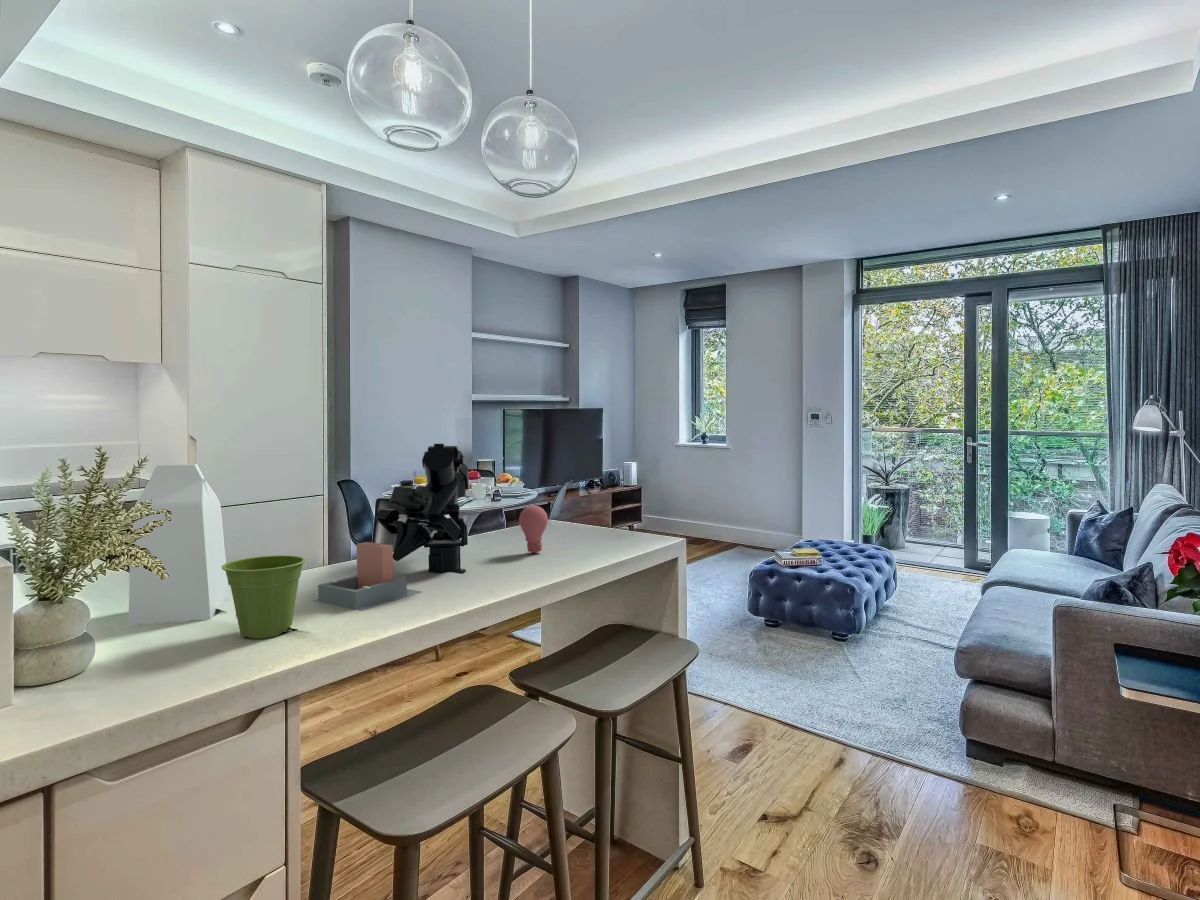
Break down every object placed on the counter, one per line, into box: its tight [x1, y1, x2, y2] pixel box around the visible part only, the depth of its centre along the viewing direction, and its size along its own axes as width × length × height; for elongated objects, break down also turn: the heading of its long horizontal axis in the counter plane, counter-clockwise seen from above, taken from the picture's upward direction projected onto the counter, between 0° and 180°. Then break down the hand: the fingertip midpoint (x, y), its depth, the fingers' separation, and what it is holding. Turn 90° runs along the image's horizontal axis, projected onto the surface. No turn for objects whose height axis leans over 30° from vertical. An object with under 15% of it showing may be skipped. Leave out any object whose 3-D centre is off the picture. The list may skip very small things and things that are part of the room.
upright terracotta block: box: [356, 541, 394, 589], centre depth 122 cm, size 3×7×9 cm, turn 60°
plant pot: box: [222, 554, 307, 640], centre depth 103 cm, size 12×12×11 cm
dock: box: [313, 574, 423, 612], centre depth 120 cm, size 14×13×4 cm
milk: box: [128, 463, 230, 626], centre depth 113 cm, size 12×12×26 cm
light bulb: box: [518, 505, 549, 554], centre depth 163 cm, size 7×7×12 cm
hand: (395, 559), depth 125 cm, fingers closed
